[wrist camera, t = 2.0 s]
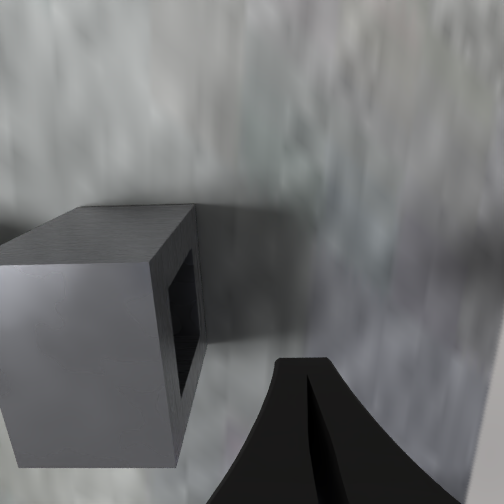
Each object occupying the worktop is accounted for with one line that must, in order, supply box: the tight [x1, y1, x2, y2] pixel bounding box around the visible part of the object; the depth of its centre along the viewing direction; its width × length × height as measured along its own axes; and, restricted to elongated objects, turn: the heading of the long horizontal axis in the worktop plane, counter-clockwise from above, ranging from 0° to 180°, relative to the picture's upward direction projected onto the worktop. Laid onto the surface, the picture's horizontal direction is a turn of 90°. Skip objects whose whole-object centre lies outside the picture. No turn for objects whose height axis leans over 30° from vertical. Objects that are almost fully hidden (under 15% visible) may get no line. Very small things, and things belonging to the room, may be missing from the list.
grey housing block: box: [0, 204, 207, 468], centre depth 14 cm, size 5×7×7 cm
